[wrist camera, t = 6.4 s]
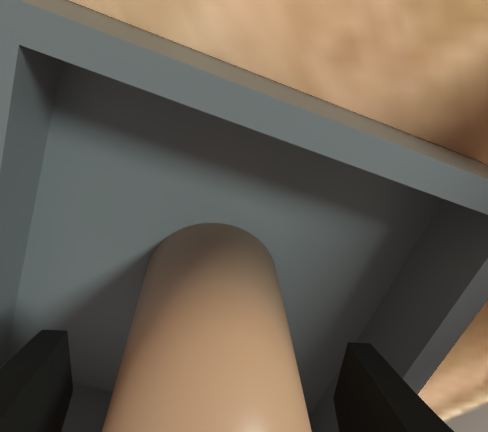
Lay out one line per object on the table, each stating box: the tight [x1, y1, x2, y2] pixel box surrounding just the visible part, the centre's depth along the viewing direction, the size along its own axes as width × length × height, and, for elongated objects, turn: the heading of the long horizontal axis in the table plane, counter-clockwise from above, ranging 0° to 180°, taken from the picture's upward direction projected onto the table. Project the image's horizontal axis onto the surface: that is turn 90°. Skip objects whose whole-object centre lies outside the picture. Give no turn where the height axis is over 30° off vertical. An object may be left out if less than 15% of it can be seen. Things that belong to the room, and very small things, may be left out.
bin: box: [0, 0, 488, 432], centre depth 14 cm, size 14×14×4 cm
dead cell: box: [102, 223, 312, 432], centre depth 11 cm, size 4×4×9 cm
